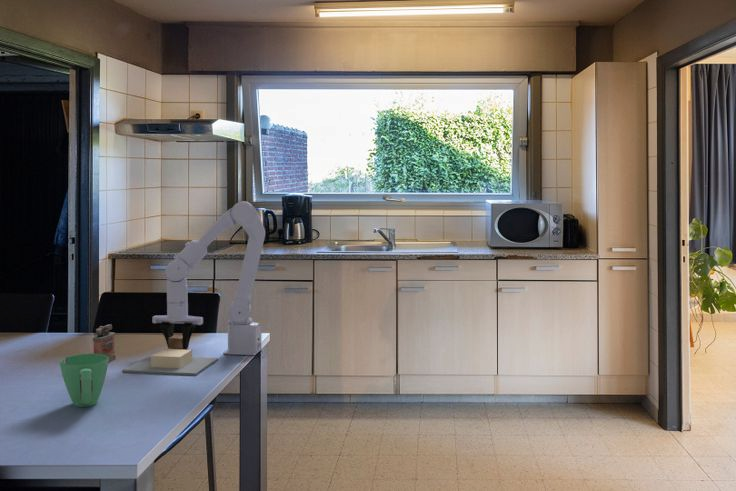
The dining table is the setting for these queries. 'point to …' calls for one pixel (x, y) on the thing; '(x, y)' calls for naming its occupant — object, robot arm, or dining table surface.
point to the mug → (84, 377)
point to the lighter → (105, 342)
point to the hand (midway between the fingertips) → (178, 348)
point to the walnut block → (176, 342)
